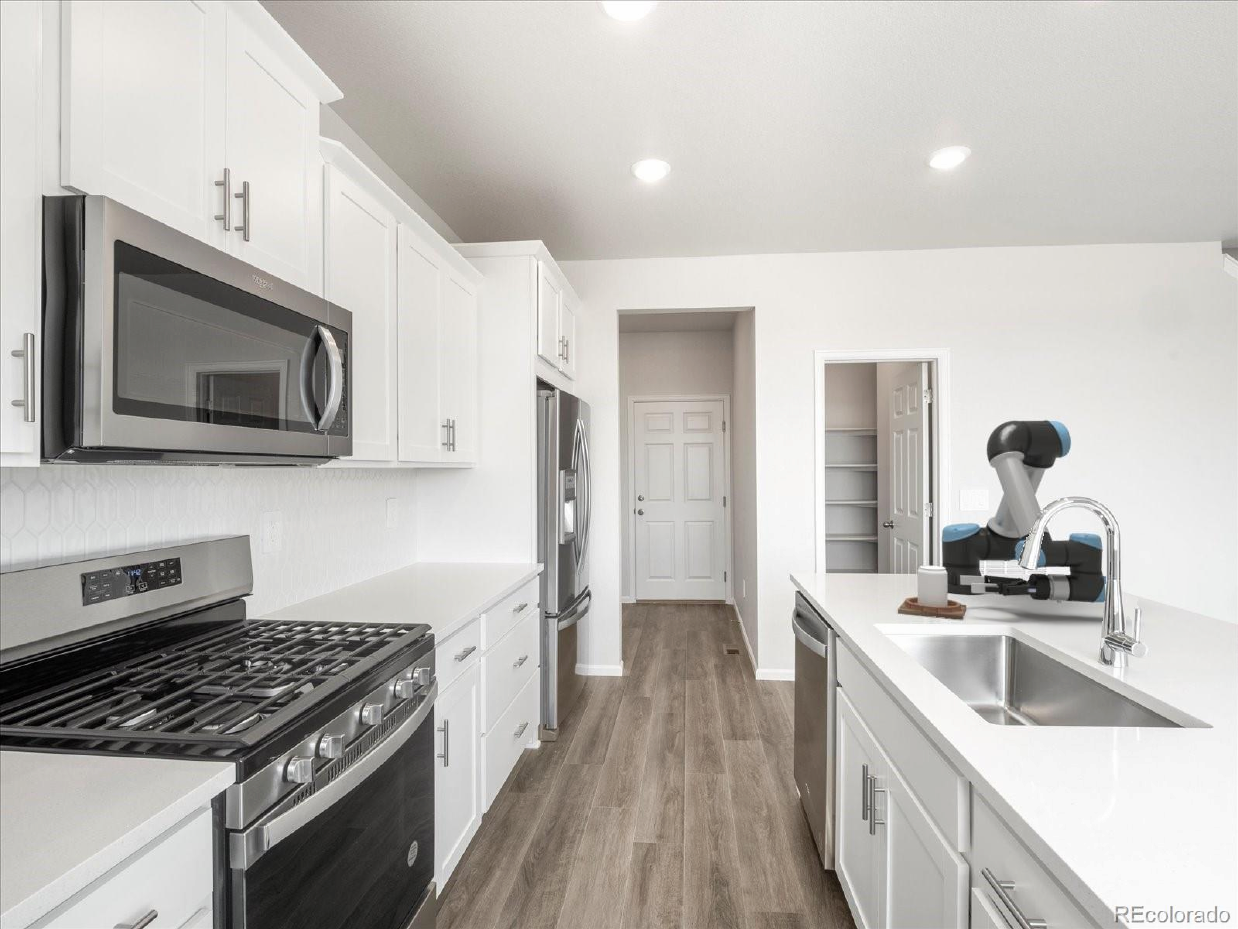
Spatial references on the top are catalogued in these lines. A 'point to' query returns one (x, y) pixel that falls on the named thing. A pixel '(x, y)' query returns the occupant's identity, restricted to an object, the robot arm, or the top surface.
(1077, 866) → the top surface
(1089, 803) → the top surface
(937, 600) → the beverage can
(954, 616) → the coaster board
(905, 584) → the top surface
